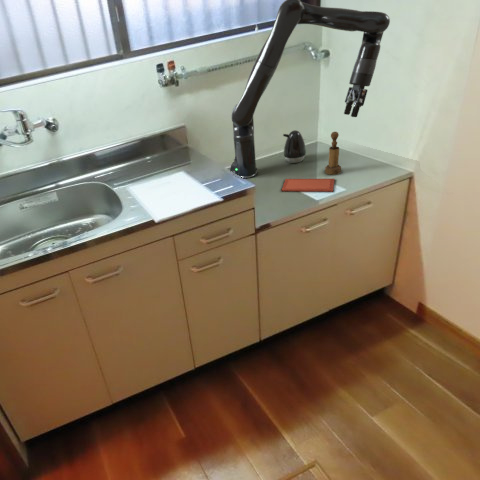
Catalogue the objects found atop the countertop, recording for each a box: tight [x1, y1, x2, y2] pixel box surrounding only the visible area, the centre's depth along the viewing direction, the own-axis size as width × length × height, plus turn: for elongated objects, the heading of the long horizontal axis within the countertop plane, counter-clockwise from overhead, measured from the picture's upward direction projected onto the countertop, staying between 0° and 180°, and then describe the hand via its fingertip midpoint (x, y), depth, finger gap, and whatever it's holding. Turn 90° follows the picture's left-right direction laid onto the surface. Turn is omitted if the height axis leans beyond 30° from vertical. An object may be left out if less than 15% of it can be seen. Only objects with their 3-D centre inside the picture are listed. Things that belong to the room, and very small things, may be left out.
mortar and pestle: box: [324, 131, 342, 176], centre depth 173 cm, size 7×6×18 cm
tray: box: [281, 178, 335, 193], centre depth 170 cm, size 20×12×1 cm, turn 67°
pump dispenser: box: [282, 129, 307, 164], centre depth 192 cm, size 10×10×15 cm
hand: (350, 115), depth 161 cm, fingers open, 8 cm apart
